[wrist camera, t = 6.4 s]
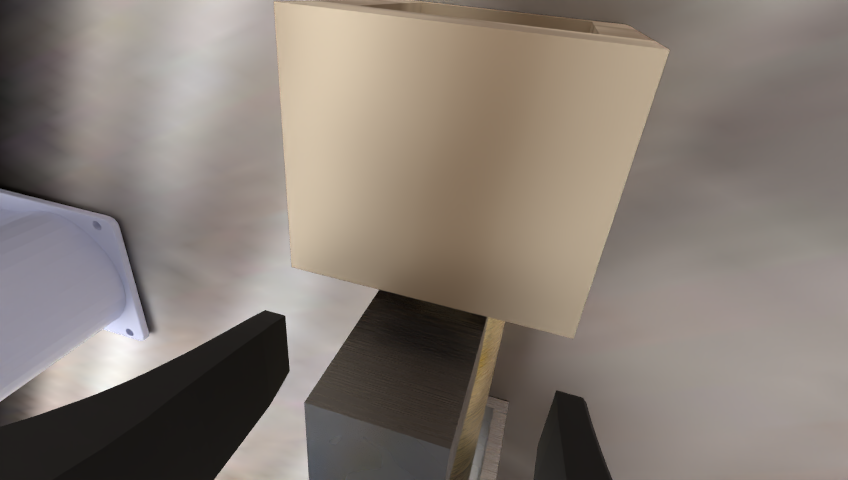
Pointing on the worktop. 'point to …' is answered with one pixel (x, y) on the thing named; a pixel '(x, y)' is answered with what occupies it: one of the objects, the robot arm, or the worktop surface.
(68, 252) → the robot arm
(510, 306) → the socket block
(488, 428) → the sleeve
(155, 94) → the worktop surface
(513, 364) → the worktop surface
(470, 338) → the tube
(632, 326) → the worktop surface
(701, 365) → the worktop surface
